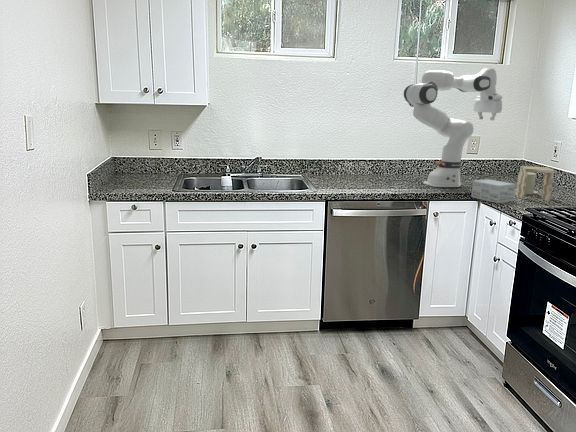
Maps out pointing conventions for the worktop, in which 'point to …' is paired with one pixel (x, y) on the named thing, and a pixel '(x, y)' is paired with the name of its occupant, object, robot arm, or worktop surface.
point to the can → (528, 183)
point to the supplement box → (493, 190)
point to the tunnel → (546, 185)
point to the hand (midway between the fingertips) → (486, 119)
